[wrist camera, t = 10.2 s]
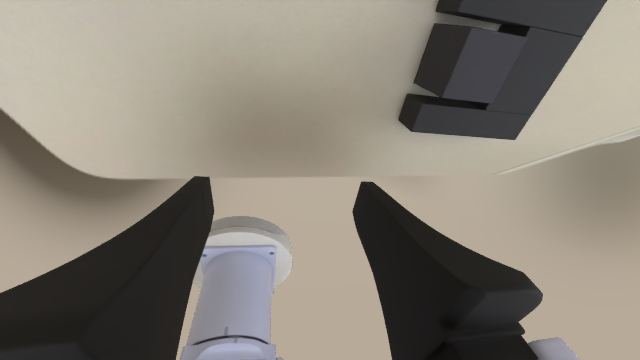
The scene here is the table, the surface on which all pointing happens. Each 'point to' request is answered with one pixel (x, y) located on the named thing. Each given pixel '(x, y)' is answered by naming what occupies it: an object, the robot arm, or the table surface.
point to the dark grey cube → (467, 62)
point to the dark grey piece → (525, 75)
